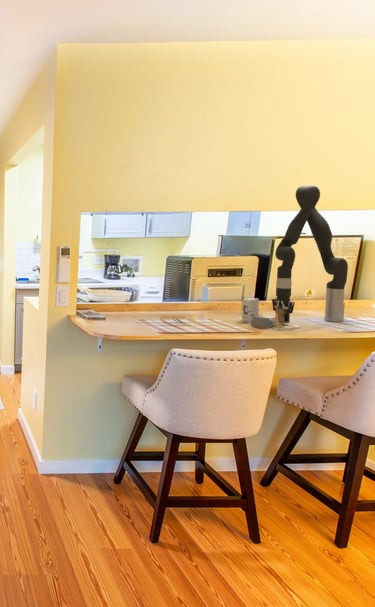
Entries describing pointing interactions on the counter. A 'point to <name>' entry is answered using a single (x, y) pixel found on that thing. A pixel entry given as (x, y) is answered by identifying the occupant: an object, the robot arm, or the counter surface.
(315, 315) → the counter surface
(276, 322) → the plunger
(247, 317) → the ink box
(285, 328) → the gauge bed
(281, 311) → the brown wooden block
